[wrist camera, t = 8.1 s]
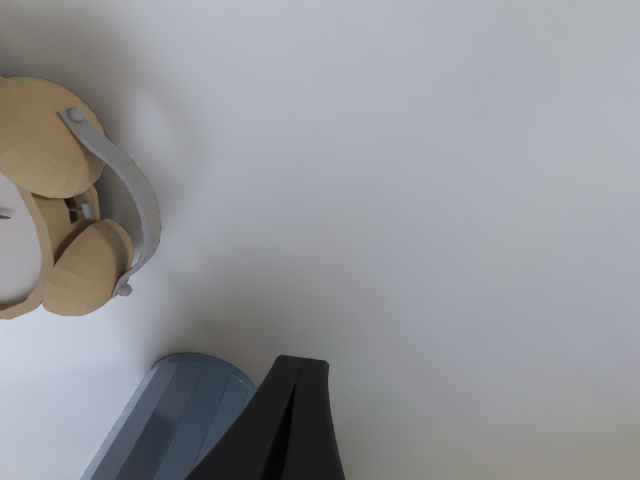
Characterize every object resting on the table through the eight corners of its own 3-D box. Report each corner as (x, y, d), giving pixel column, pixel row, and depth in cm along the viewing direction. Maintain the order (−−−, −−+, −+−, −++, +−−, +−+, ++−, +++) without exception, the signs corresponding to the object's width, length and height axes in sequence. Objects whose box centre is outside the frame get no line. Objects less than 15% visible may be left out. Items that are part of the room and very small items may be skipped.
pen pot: (262, 442, 28) (215, 615, 20) (155, 426, 29) (69, 587, 21) (261, 362, 24) (202, 534, 17) (138, 344, 25) (27, 503, 17)
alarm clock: (-270, 60, 16) (49, 81, 12) (-118, 46, 20) (158, 58, 16) (-118, 302, 22) (135, 371, 18) (-23, 253, 26) (200, 300, 22)
